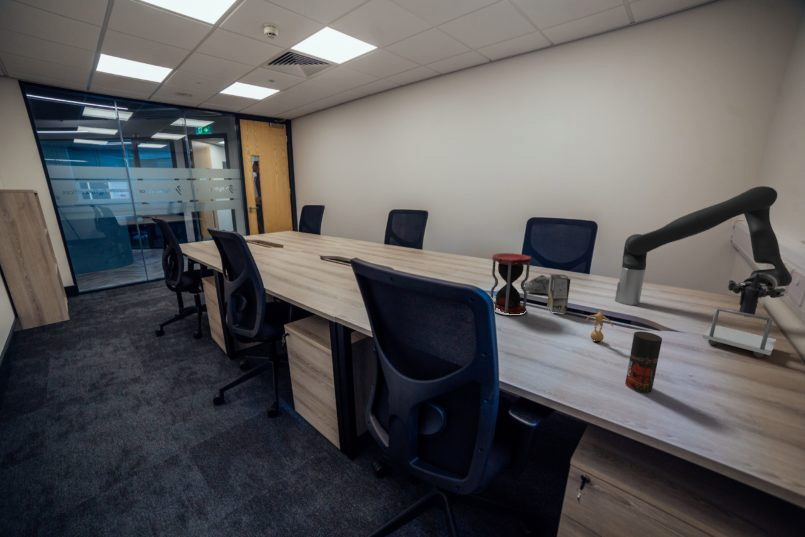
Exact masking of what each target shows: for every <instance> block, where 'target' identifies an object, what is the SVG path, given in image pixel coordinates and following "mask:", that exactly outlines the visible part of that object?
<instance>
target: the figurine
mask: <svg viewBox="0 0 805 537" xmlns="http://www.w3.org/2000/svg"><path fill="white" fill-rule="evenodd" d="M590 318H595V319H596V320H594V331H592V332H591V333H590V338H591V340H592V341H593V340H595V341H600V342H602V341H603V340H604V336H605V335H604V333H602V329H603V326H604V322H603V319H604V320H607V321H608V322H609V324H610V326H611V327H614V326H613V325H614V324H613V323H612V322H611V319H609V318H607V317H606V316H605V315H603V312H602V311H598V313H596V314H593V315H592V314H591V315H589V316H587V317H586V319H585V322H587V321H588V320H589V319H590ZM597 325H599V326H600V327H599V330H597ZM595 341H594V342H595Z"/></svg>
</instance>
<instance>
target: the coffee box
mask: <svg viewBox="0 0 805 537" xmlns="http://www.w3.org/2000/svg"><path fill="white" fill-rule="evenodd" d="M549 277H550V282H549V292H548V294H547V303H546V308H547V310H549V309H550V310H551V311H552V312H561V313H566V314H567V310H568V301H569V295H570V294H569V292H570V288H571V279H570V278H569V277H568V276H567V275H565V274H551V273H550V275H549Z"/></svg>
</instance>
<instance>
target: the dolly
mask: <svg viewBox="0 0 805 537" xmlns="http://www.w3.org/2000/svg"><path fill="white" fill-rule="evenodd" d="M720 312H724V313H729V314H733V315H737V316H742V317H744V316H747V317H746V318H751V317H752V318H753V319H757V320H763V321H767V322H766V326H765V329H764V332H763V334H762V335H759V334H754V333H752V332H748V331H747V332H746V331H742V330H737V329H734V328H730V327H724V326H720V325H717V322H718V318H719V314H720ZM772 323H773V319H771V317H768V316H762V315H757V314H755V315H753V314H748V313H743V312H739V311H737V310H731V309H727V308H722V307H715V309H714V314H713V318H712V323H711V325H710V327H708V329H707V330H705V332H704V333H703V334H702V338H703V339H706V340H707V342H708V344H709V345H712V346H716V345H718V343H722V344H725V345H727V346H728V345H730V346H733V347H737V348H740V349H744V350H748V351H752V352H753V355H754V356H755V358H756V357H757V358H763V357H764V356H765V355H767V356H771V355H772V352H773V349H774V347H775V345H776V342H777V339H776V338H772V337H769V334H770V331H771V329H772V328H771V327H772Z"/></svg>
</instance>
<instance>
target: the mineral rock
mask: <svg viewBox="0 0 805 537" xmlns="http://www.w3.org/2000/svg"><path fill="white" fill-rule="evenodd" d="M549 282H550V276H545V275H544V274H541V275H538V276H537V277H535V278H533V279H531V280H530V281H528V282H525V283H524V289H525V290H526V292H527V293H528V292H529V293H532V294H545V295H548V292H549Z"/></svg>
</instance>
